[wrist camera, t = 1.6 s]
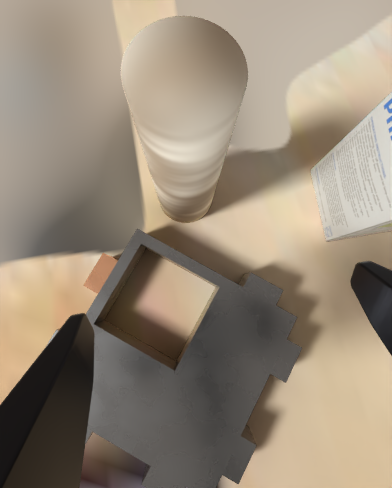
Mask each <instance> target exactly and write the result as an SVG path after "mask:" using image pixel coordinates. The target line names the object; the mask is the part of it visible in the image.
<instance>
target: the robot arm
mask: <svg viewBox="0 0 392 488" xmlns="http://www.w3.org/2000/svg"><path fill="white" fill-rule="evenodd" d="M351 286H352V289H353V291H354V292H355V294H356V296H357V298H358V300H359V302H360V304H361V306H362V308H363V310H364V312H365V314H366V315H367V317H368V319H369V321H370V323H371V325H372V326H373V328H374V330H375V331H376V333H377V334H378V336H379V337H380V339H381V340H382V342H383V343H384V345H385V346H386V348H387V349H388V351H389V352H390V354H391V355H392V271H391V270H389V269H387V268H384V267H382V266H380V265H378V264H376V263H374V262H371V261H365V262H360V263H357V264H356V265H355V268H354V271H353V274H352V278H351ZM94 337H95V336H94V329H93V327H92V325H91V323H90V321H89V319H88V317H87V316H86V314H84V313H80V314H75V315H72V316H70V317H69V318H68V320H67V321H66V322H65V323H64V325H63V326H62V327H61V329H60V330H59V331H58V332H57V334H56V335H55V336H54V337H53V339H52V340H51V341H50V343H49V344H48V345H47V346H46V348H45V349H44V350H43V351H42V353H41V354H40V355H39V356H38V358H37V359H36V360H35V362H34V363H33V364H32V365H31V367H30V368H29V369H28V370H27V372H26V373H25V374H24V375H23V377H22V378H21V379H20V381H19V382H18V383H17V384H16V386H15V387H14V388H13V389H12V391H11V392H10V393H9V395H8V396H7V397H6V398H5V400H4V401H3V402H2V403H1V405H0V488H79V485H80V478H81V471H82V463H83V456H84V449H85V441H86V434H87V427H88V419H89V412H90V405H91V397H92V390H93V379H94Z"/></svg>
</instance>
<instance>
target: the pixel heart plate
mask: <svg viewBox="0 0 392 488" xmlns="http://www.w3.org/2000/svg"><path fill="white" fill-rule="evenodd" d="M146 248H147V249H148V250H150V251H152V252H154V253H156V254H157V255H159V256H161V257H163V258H165V259H166V260H168V261H170V262H172V263H174V264H175V265H177V266H179V267H181V268H183V269H184V270H186V271H188V272H190V273H192V274H193V275H195V276H197V277H199V278H201V279H203V280H204V281H206V282H208V283H210V284H212V285H213V286H215V287H216V288H215V290H214V292H213V293H212V295H211V297H210V299H209V301H208V303H207V305H206V307H205V308H204V310H203V312H202V314H201V316H200V318H199V320H198V322H197V323H196V325H195V327H194V329H193V331H192V333H191V335H190V337H189V338H188V340H187V342H186V344H185V346H184V348H183V350H182V352H181V353H180V355H179V357H178V359H177V361H175V360H173V359H171V358H170V357H168V356H166V355H164V354H163V353H161V352H159V351H157V350H156V349H154V348H152V347H150V346H149V345H147V344H145V343H143V342H142V341H140V340H138V339H136V338H135V337H133V336H131V335H129V334H128V333H126V332H124V331H122V330H121V329H119V328H117V327H115V326H114V325H112V324H110V323H108V322H107V321H105V320H104V319H105V317H106V316H107V314H108V312H109V310H110V309H111V307H112V305H113V304H114V302H115V300H116V299H117V297H118V295H119V293H120V292H121V290H122V288H123V287H124V285H125V283H126V281H127V280H128V278H129V276H130V275H131V273H132V271H133V269H134V268H135V266H136V264H137V263H138V261H139V259H140V258H141V256H142V254H143V252H144V251H145V249H146ZM84 286H85V287H87V288H89V289H91V290H92V291H94V292H96V293H98V295H97V297H96V298H95V300H94V302H93V303H92V305H91V307H90V308H89V310H88V312H87V313H86V316H87V317H88V319H89V321H90V323H91V325H92V327H93V329H94V336H95V337H94V379H93V390H92V397H91V405H90V412H89V419H88V427H87V434H86V441H85V444H86V443H87V441H88V439H89V438H90V436H91V435H92V433H93V432H94V433H96V434H97V435H99V436H101V437H102V438H104V439H106V440H108V441H109V442H111V443H113V444H114V445H116V446H118V447H119V448H121V449H123V450H124V451H126V452H128V453H129V454H131V455H133V456H135V457H136V458H138V459H140V460H141V461H143V462H145V463H146V467H145V471H144V475H143V480H142V484H141V485H143V486H145V487H146V488H186V487H187V488H216V486H217V484H218V482H219V480H220V478H221V476H222V475H223V476H225V477H227V478H228V479H230V480H232V481H234V482H235V483H237V484H239V482H240V480H241V478H242V476H243V473H244V471H245V469H246V467H247V465H248V463H249V461H250V458H251V456H252V454H253V452H254V450H255V448H256V446H257V445H256V443H255V441H254V438H253V436H252V434H251V432H250V429H249V427H248V426H246V424H247V421H248V419H249V417H250V415H251V413H252V411H253V409H254V407H255V405H256V403H257V401H258V398H259V396H260V394H261V392H262V390H263V388H264V386H265V384H266V382H267V380H268V378H269V375H270V374H271V375H273V376H275V377H276V378H278V379H280V380H282V381H283V382H285V383H286V381H287V379H288V377H289V375H290V373H291V371H292V369H293V366H294V364H295V362H296V360H297V358H298V356H299V354H300V351H301V349H302V347H300V346H298V345H296V344H295V343H293V342H291V341H289V340H287V338H288V336H289V334H290V332H291V329H292V327H293V325H294V323H295V321H296V319H297V317H296V316H294V315H293V314H291V313H289V312H287V311H285V310H284V309H282V308H280V307H278V306H276V304H277V302H278V300H279V298H280V296H281V294H282V292H283V290H282V289H280V288H278V287H277V286H275V285H273V284H271V283H269V282H268V281H266V280H264V279H262V278H260V277H258V276H257V275H255V274H253V273H246V274H244V275H243V277H242V279H241V281H240V283H239V285H238V284H236V283H235V282H233V281H231V280H229V279H227V278H226V277H224V276H222V275H220V274H218V273H217V272H215V271H213V270H211V269H209V268H208V267H206V266H204V265H202V264H200V263H198V262H197V261H195V260H193V259H191V258H189V257H188V256H186V255H184V254H182V253H180V252H179V251H177V250H175V249H173V248H171V247H170V246H168V245H166V244H164V243H162V242H160V241H159V240H157V239H155V238H153V237H151V236H150V235H148V234H146V233H144V232H142V231H141V230H139V229H137V230H136V231H135V233H134V235H133V236H132V238H131V240H130V242H129V243H128V245H127V246H126V248H125V250H124V251H123V253H122V255H121V257H120V258H119V260H117V259H115V258H114V257H112V256H109V255H107V254H104V253H103V254H102V256H101V257H100V259H99V261H98V262H97V264H96V266H95V267H94V269H93V270H92V272H91V274H90V275H89V277H88V279H87V280H86V282H85V284H84ZM60 329H61V328H60ZM60 329H57V330H56V331H55V333H54V334H53V336H52V338H51V339H50V341H51V340H52V339H53V337H54V336H55V335H56V334H57V332H58V331H59V330H60ZM50 341H49V343H50ZM49 343H48V344H49ZM48 344H47V345H48Z"/></svg>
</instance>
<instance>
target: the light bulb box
mask: <svg viewBox="0 0 392 488" xmlns="http://www.w3.org/2000/svg"><path fill="white" fill-rule="evenodd" d="M311 176H312V181H313V186H314V190H315V195H316V199H317V203H318V208H319V212H320V217H321V221H322V225H323V230H324V234H325V239H326V241H334V240H340V239H346V238H352V237H358V236H364V235H370V234H375V233H381V232H387V231H392V92H391V93H390V94H389V95H388V96H387V97H386V98H385V99H384V100H383V101H382V102H381V103H379V104H378V105H377V106H376V107H375V108H374V109H373V110H372V111H371V112H370V113H369V114H368V115H367V116H366V117H365V118H364V119H363V120H362V121H361V122H360V123H359V124H358V125H357V126H356V127H355V128H354V129H353V130H352V131H350V132H349V133H348V134H347V135H346V136H345V137H344V138H343V139H342V140H341V141H340V142H339V143H338V144H337V145H336V146H335V147H334V148H333V149H332V150H331V151H330V152H329V153H327V154H326V155H325V156H324V157H323V158H322V159H321V160H320V161H319V162H318V163H317V164H316V165H315V166H314V167H313V168H312V169H311Z"/></svg>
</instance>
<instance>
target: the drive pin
mask: <svg viewBox="0 0 392 488" xmlns="http://www.w3.org/2000/svg"><path fill="white" fill-rule="evenodd" d="M247 80H248V69H247V63H246V59H245V56H244V54H243V51H242V49H241V48H240V46H239V45H238V43H237V42H236V40H235V39H234V38H233V37H232V36H231V35H230V34H229V33H228V32H227V31H225V30H224V29H222V28H221V27H220V26H218V25H216V24H215V23H212V22H210V21H208V20H204V19H201V18H197V17H191V16H174V17H168V18H165V19H161V20H158V21H156V22H154V23H152V24H150V25H148V26H146V27H145V28H144V29H142V30H141V31H140V32H139V33H138V34H137V35H136V36H135V37H134V38H133V39H132V40H131V42H130V43H129V45H128V46H127V48H126V50H125V53H124V55H123V58H122V62H121V81H122V86H123V89H124V92H125V96H126V99H127V102H128V105H129V108H130V111H131V114H132V117H133V121H134V124H135V127H136V130H137V133H138V136H139V139H140V143H141V146H142V149H143V152H144V155H145V158H146V161H147V164H148V168H149V171H150V174H151V177H152V180H153V183H154V186H155V190H156V193H157V196H158V199H159V202H160V205H161V208H162V210H163V211H164V213H165V214H166V215H167V216H168V217H170V218H171V219H173V220H175V221H177V222H182V223H190V222H194V221H197V220H199V219H200V218H202V217H203V216H204V215H205V214H206V213H207V212H208V210H209V208H210V206H211V203H212V200H213V197H214V193H215V190H216V187H217V183H218V180H219V177H220V173H221V170H222V167H223V163H224V160H225V157H226V153H227V150H228V146H229V143H230V140H231V136H232V133H233V130H234V126H235V123H236V120H237V116H238V113H239V109H240V106H241V103H242V100H243V96H244V93H245V90H246V86H247Z"/></svg>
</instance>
